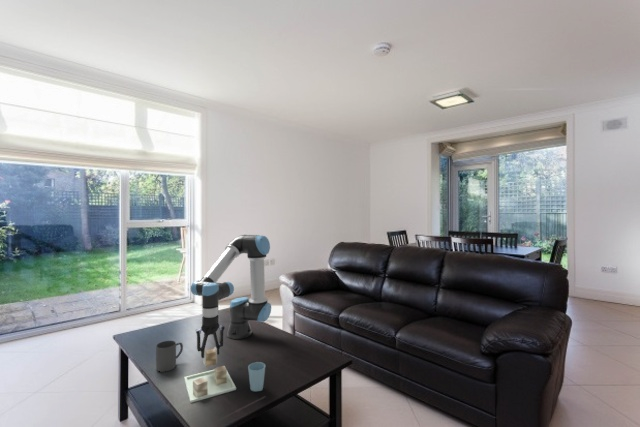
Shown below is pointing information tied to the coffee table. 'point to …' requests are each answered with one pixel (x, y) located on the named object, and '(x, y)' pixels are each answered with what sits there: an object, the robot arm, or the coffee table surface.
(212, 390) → the tray
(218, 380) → the beech block
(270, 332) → the coffee table surface
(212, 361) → the oak block
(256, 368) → the cup
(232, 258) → the robot arm
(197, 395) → the maple block
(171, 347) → the mug
